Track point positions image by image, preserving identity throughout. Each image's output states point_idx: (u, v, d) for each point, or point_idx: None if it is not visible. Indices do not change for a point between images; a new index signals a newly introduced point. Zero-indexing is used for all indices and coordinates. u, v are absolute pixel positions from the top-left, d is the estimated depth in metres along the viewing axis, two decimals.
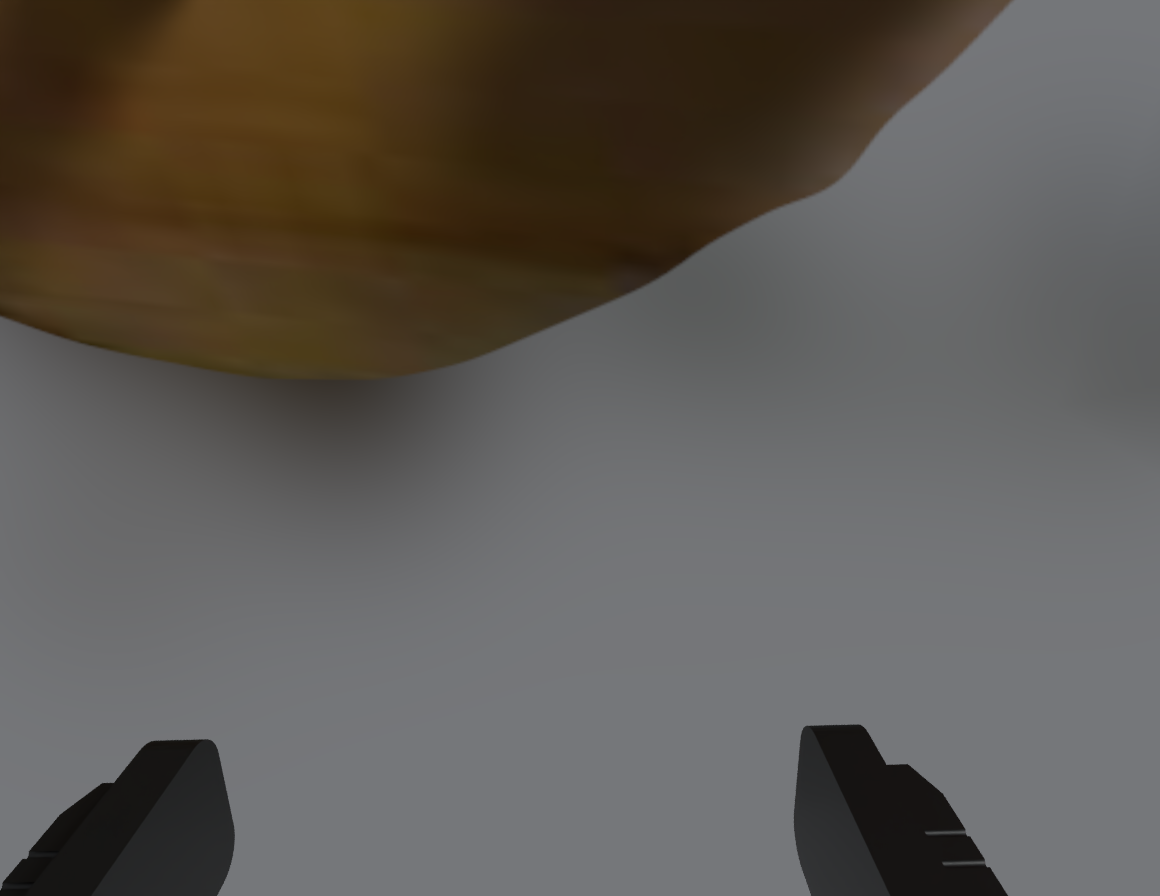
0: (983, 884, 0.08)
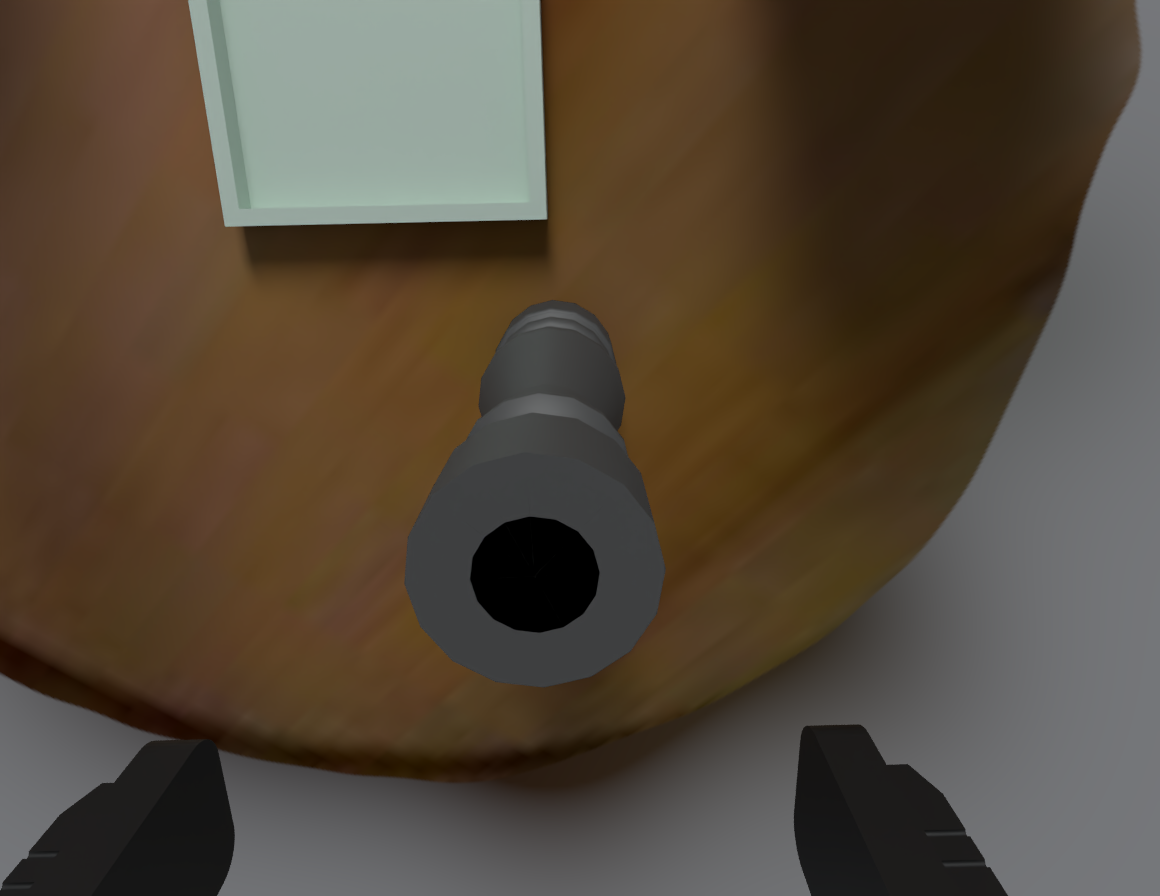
0: (983, 884, 0.08)
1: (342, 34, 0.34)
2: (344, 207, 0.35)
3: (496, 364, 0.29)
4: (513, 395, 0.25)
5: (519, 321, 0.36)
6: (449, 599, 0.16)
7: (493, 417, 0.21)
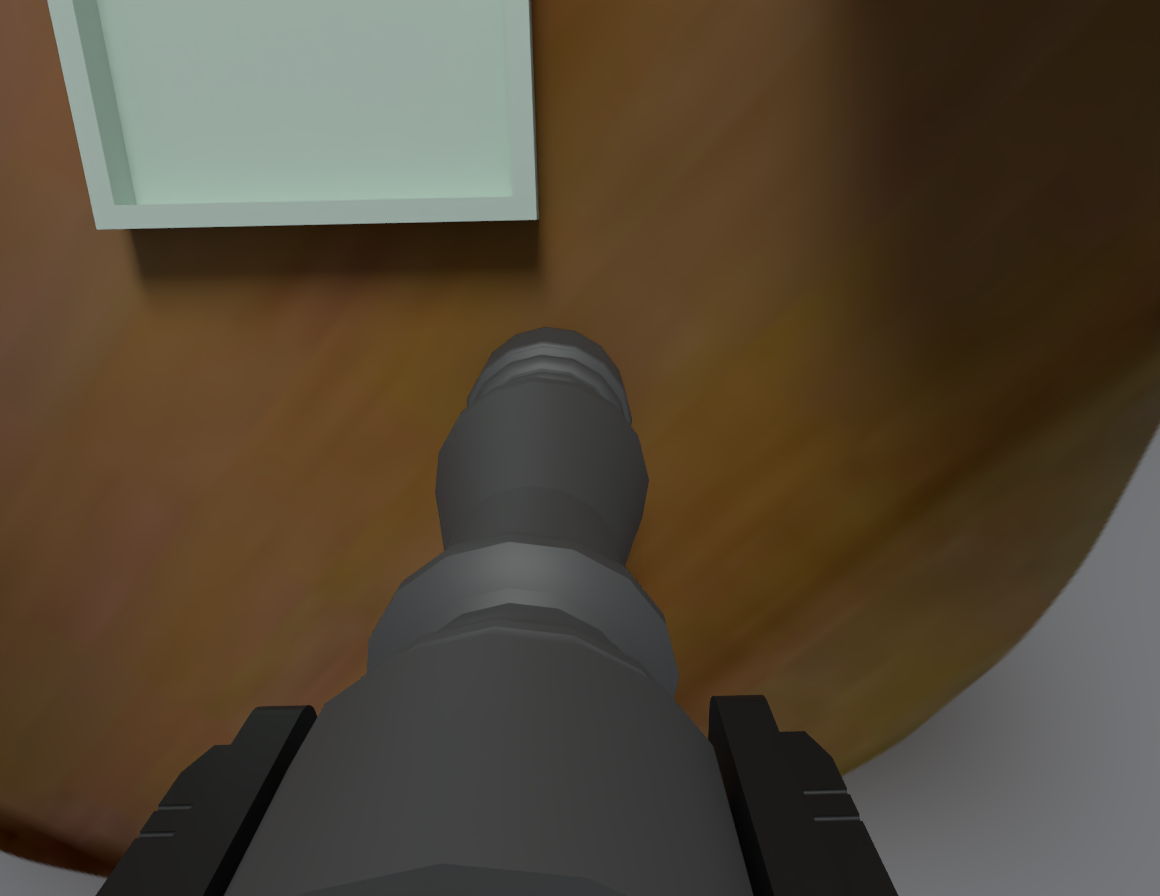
0: (853, 835, 0.08)
1: None
2: (259, 203, 0.26)
3: (458, 436, 0.19)
4: (477, 503, 0.16)
5: (499, 359, 0.26)
6: None
7: (427, 587, 0.11)
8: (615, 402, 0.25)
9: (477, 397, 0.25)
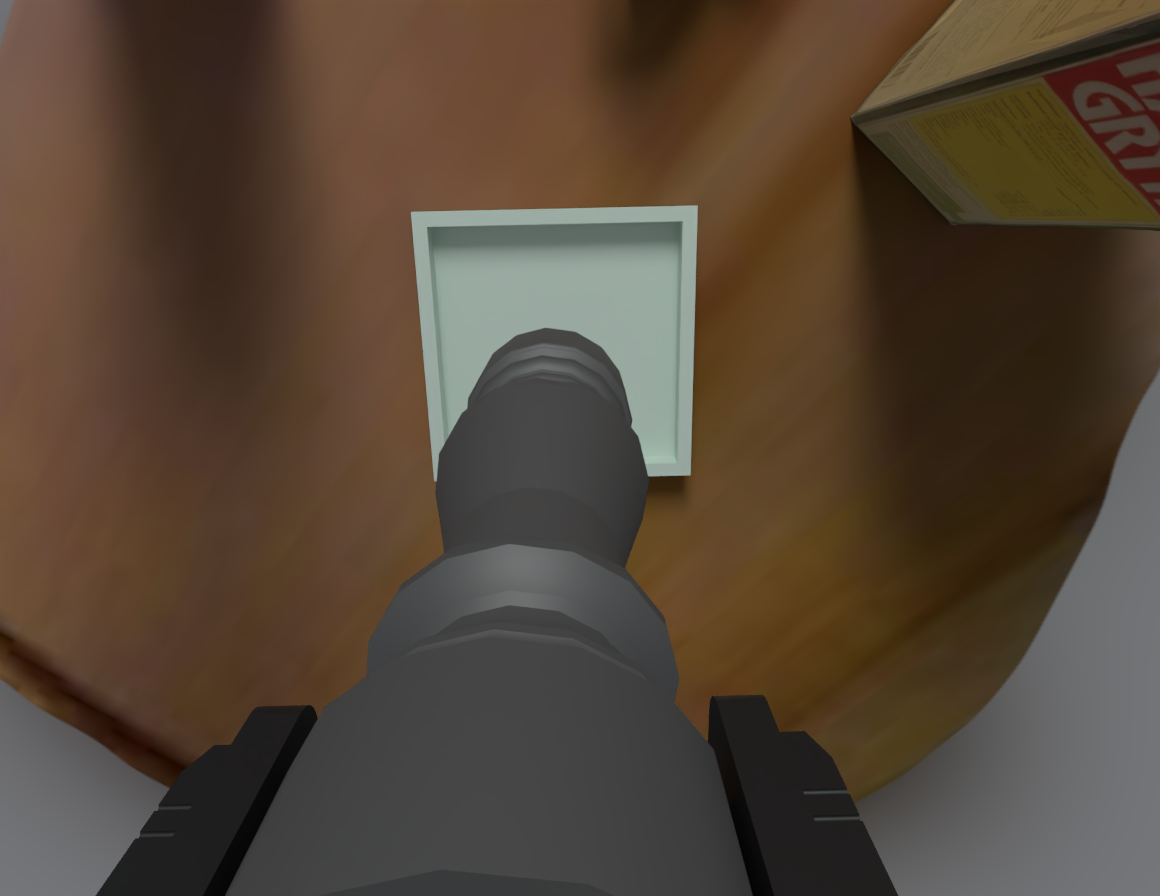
0: (853, 835, 0.08)
1: None
2: None
3: (458, 437, 0.19)
4: (477, 504, 0.16)
5: (500, 359, 0.26)
6: None
7: (427, 589, 0.11)
8: (615, 403, 0.25)
9: (477, 398, 0.25)
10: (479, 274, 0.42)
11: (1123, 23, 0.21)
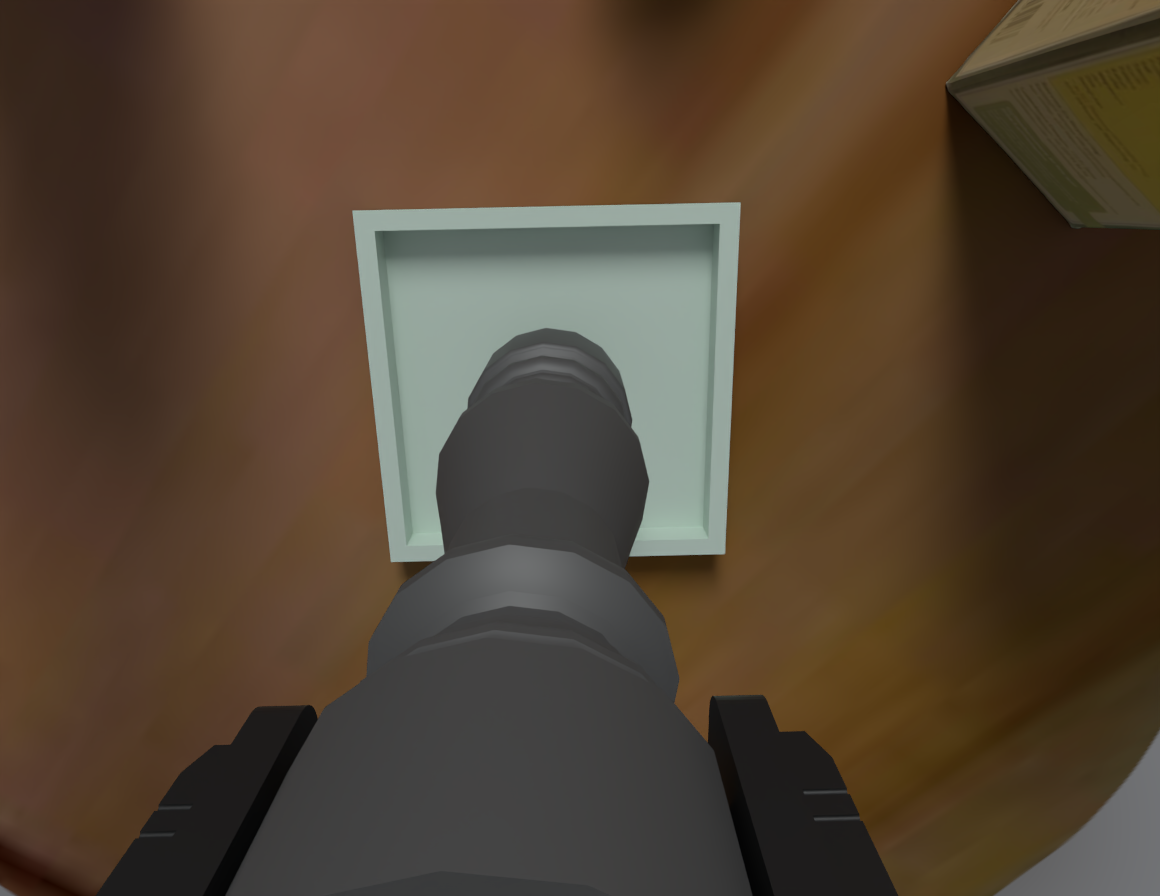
0: (853, 835, 0.08)
1: None
2: None
3: (458, 438, 0.19)
4: (477, 505, 0.16)
5: (500, 360, 0.26)
6: None
7: (427, 589, 0.11)
8: (616, 403, 0.25)
9: (477, 398, 0.25)
10: (447, 293, 0.32)
11: None
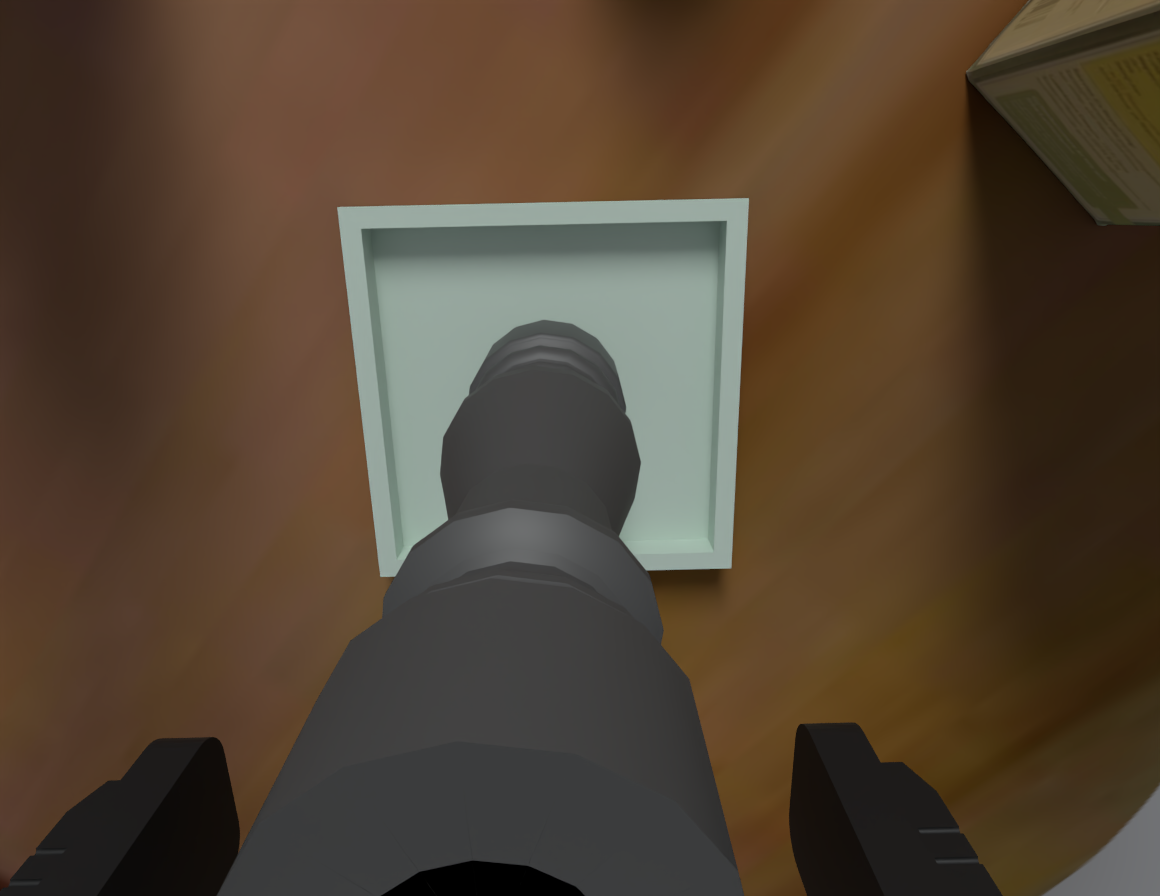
0: (976, 881, 0.08)
1: None
2: None
3: (461, 421, 0.21)
4: (480, 480, 0.17)
5: (500, 350, 0.27)
6: None
7: (436, 547, 0.13)
8: (610, 391, 0.26)
9: (479, 386, 0.26)
10: (439, 295, 0.30)
11: None
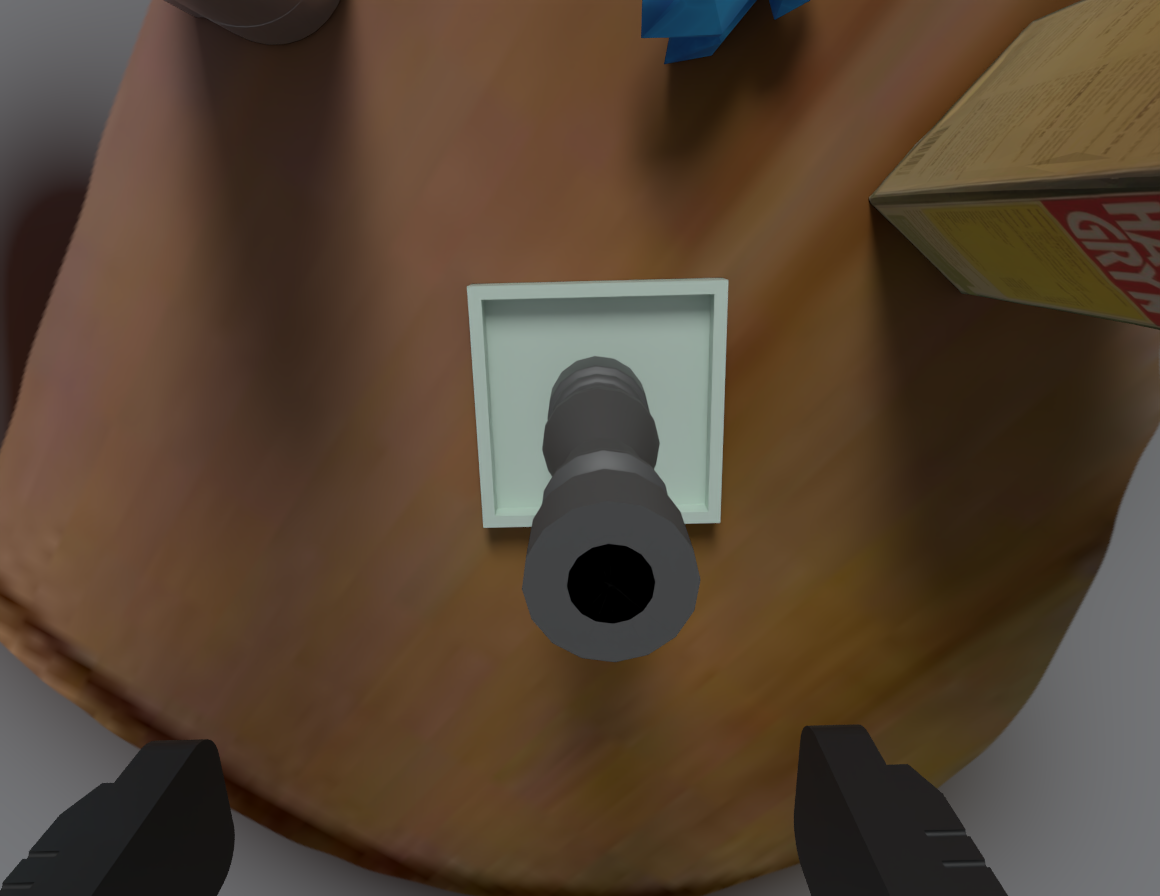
0: (983, 884, 0.08)
1: None
2: None
3: (558, 418, 0.36)
4: (576, 446, 0.33)
5: (569, 376, 0.43)
6: (551, 599, 0.23)
7: (569, 468, 0.28)
8: (640, 401, 0.42)
9: (558, 399, 0.42)
10: (527, 340, 0.46)
11: (1107, 172, 0.25)
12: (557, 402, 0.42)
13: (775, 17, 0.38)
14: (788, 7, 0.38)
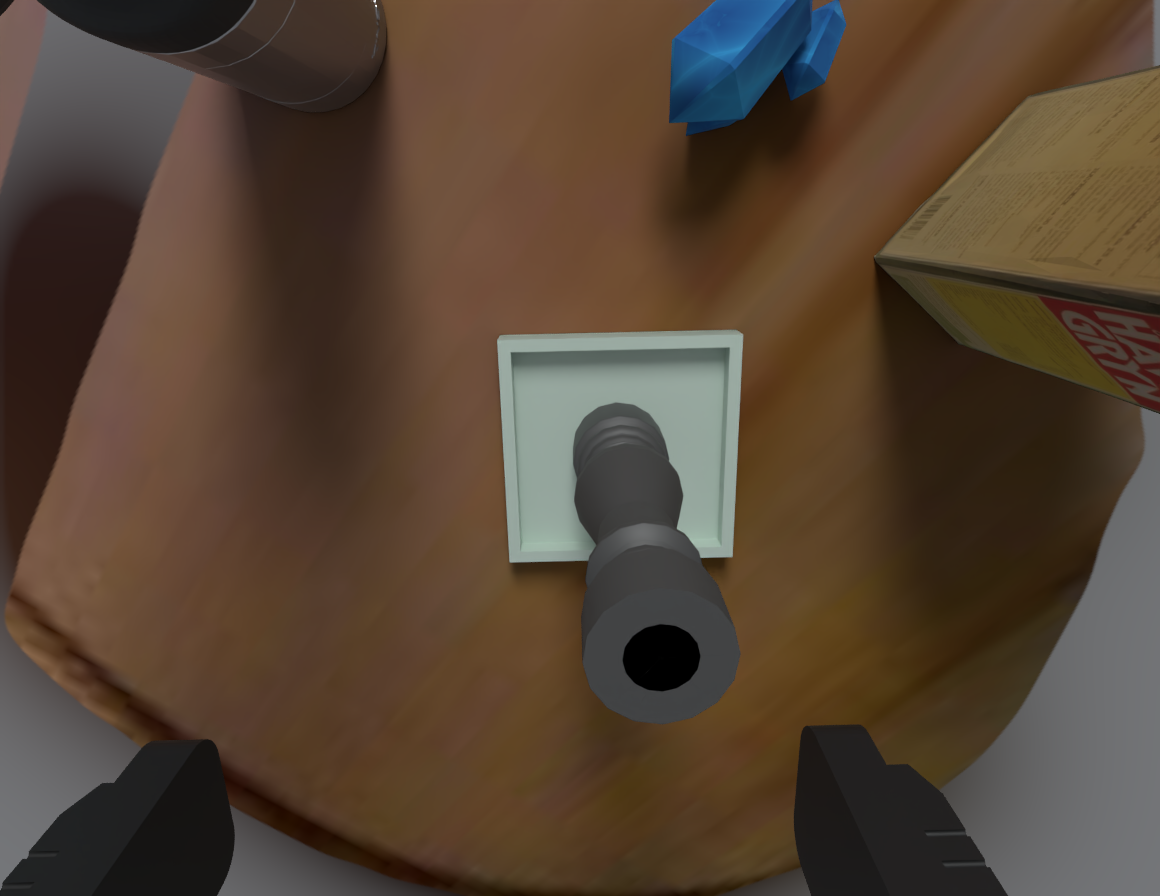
0: (983, 884, 0.08)
1: None
2: None
3: (591, 475, 0.39)
4: (612, 508, 0.36)
5: (594, 425, 0.46)
6: (608, 671, 0.26)
7: (613, 539, 0.31)
8: (661, 451, 0.45)
9: (585, 448, 0.45)
10: (552, 387, 0.49)
11: (1099, 285, 0.28)
12: (584, 451, 0.45)
13: (791, 98, 0.40)
14: (804, 90, 0.40)
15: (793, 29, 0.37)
